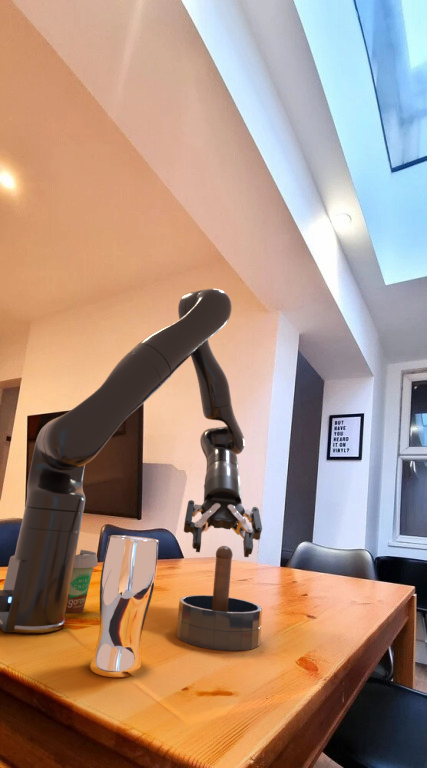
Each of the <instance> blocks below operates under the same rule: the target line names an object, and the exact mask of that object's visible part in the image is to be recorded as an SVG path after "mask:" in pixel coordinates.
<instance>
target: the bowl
mask: <svg viewBox="0 0 427 768" xmlns="http://www.w3.org/2000/svg"><path fill="white" fill-rule="evenodd" d="M212 599H213V594H192V595H184V596H182V597H179V603H178V612H177V620H176V631H175V636H176V637H177V638H178V640H180V641H182V642H183V643H185V644H189V645H191V646H195V647H197V648H203V649H208V650H215V651H224V652H225V651H228V652H242V651H248V650H253V649H256V648H258V647H259V646H260V644H261V637H262V636H261V634H262V619H263V618H262V615H263V608H262V607H261V605H259V604H257V603H255V602H252V601H249V600H245V599H241V598H235V597H230V596H229V601H228V612H224V611H214V610H212Z"/></svg>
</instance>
